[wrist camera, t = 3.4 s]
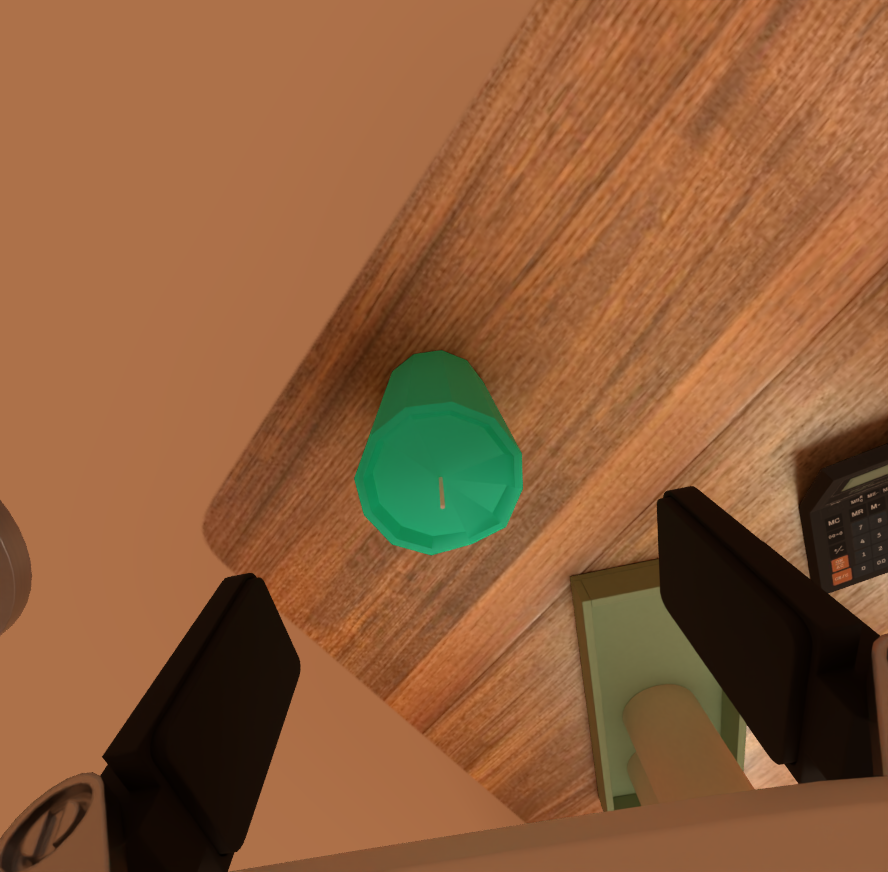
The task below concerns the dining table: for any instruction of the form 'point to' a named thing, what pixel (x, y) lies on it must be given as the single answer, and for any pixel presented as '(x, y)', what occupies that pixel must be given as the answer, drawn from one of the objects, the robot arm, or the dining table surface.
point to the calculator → (848, 521)
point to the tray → (636, 669)
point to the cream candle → (680, 746)
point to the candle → (438, 458)
